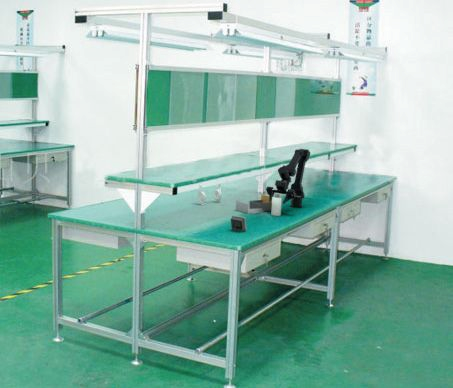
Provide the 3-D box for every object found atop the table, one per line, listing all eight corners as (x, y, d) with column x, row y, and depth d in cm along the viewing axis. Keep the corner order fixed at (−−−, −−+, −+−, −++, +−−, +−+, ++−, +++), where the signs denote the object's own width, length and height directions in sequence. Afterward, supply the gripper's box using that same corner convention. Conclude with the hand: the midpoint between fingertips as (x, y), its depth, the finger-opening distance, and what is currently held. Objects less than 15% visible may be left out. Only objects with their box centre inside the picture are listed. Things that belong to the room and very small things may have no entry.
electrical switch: (246, 230, 362) (246, 216, 360) (242, 233, 358) (242, 218, 356) (233, 228, 366) (233, 214, 364) (229, 230, 363) (229, 216, 360)
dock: (252, 208, 427) (252, 198, 426) (264, 212, 417) (265, 202, 415) (235, 209, 419) (236, 200, 418) (247, 213, 409) (248, 203, 408)
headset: (215, 201, 447) (217, 175, 443) (223, 202, 442) (224, 176, 439) (195, 204, 432) (196, 177, 429) (202, 206, 427) (204, 179, 424)
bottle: (278, 213, 414) (279, 193, 412) (282, 215, 409) (283, 195, 407) (269, 213, 412) (270, 193, 410) (273, 215, 407) (275, 195, 404)
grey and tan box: (261, 206, 431) (262, 194, 429) (273, 210, 421) (274, 197, 420) (248, 208, 424) (248, 195, 423) (259, 211, 415) (260, 198, 413)
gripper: (268, 173, 415) (259, 193, 407) (295, 177, 406) (287, 196, 399) (272, 184, 423) (264, 203, 415) (299, 188, 415) (291, 207, 407)
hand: (276, 202), depth 409 cm, fingers open, 9 cm apart
